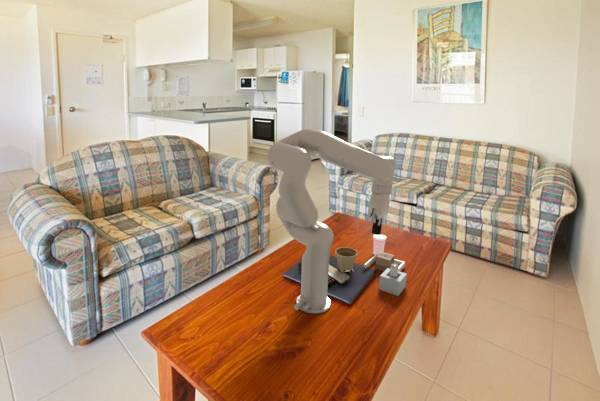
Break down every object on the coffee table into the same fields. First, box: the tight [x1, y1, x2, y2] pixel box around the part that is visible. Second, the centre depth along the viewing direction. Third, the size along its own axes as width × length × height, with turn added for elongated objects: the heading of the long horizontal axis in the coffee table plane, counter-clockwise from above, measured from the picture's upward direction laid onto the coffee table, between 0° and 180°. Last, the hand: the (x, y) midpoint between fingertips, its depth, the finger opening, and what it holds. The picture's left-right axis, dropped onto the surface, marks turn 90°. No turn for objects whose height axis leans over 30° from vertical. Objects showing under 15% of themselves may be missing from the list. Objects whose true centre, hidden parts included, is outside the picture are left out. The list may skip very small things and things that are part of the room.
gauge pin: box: [390, 264, 399, 279], centre depth 143 cm, size 3×3×10 cm
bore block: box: [378, 268, 408, 297], centre depth 144 cm, size 8×8×6 cm
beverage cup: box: [372, 233, 387, 256], centre depth 172 cm, size 6×6×14 cm
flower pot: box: [335, 246, 358, 271], centre depth 156 cm, size 9×9×9 cm
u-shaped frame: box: [363, 254, 406, 272], centre depth 160 cm, size 13×14×2 cm
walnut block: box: [374, 252, 396, 272], centre depth 160 cm, size 6×6×6 cm
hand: (376, 233), depth 144 cm, fingers closed
